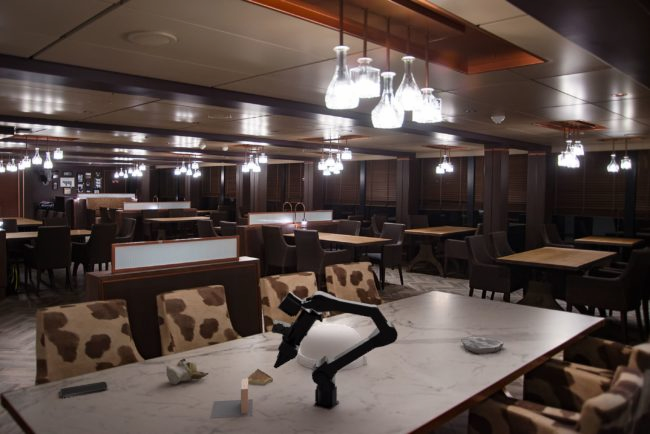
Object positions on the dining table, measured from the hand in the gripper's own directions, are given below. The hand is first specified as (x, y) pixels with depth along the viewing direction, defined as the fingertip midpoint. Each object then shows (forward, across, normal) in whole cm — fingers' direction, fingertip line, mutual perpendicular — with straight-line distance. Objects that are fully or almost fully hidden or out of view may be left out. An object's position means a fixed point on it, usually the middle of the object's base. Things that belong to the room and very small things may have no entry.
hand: (276, 362), depth 168 cm
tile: (+17, +4, 0) cm, 17 cm away
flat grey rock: (-37, -63, +80) cm, 108 cm away
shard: (+18, -22, 0) cm, 28 cm away
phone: (+51, -10, -50) cm, 72 cm away
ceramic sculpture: (+32, -21, -22) cm, 45 cm away
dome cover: (+1, -47, +24) cm, 53 cm away
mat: (+19, +4, -4) cm, 20 cm away
